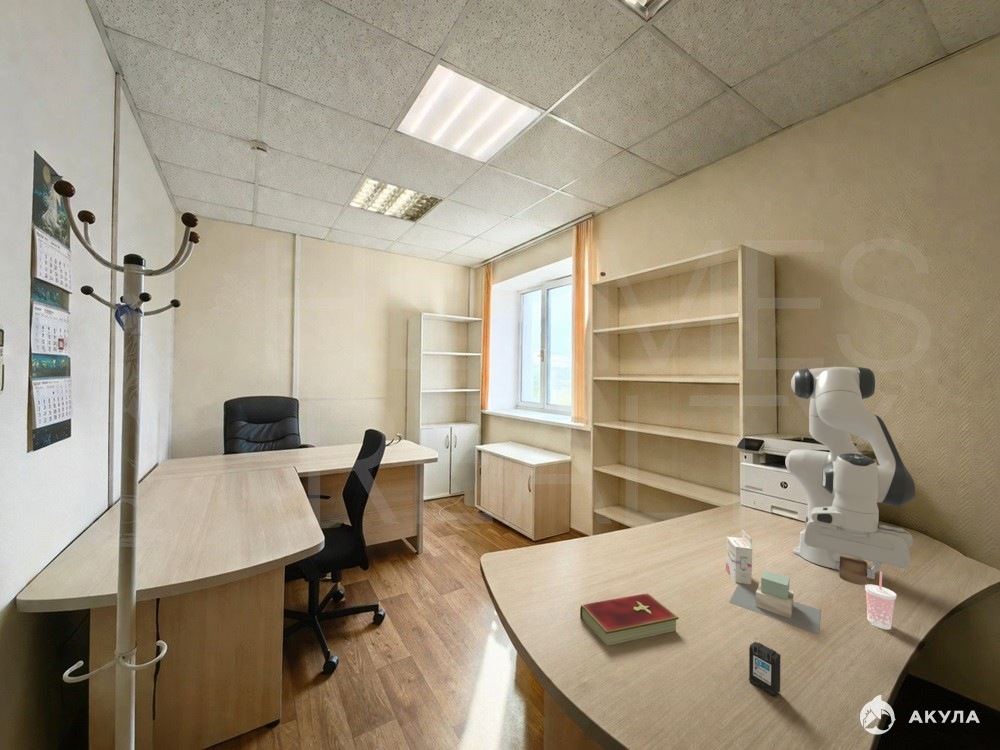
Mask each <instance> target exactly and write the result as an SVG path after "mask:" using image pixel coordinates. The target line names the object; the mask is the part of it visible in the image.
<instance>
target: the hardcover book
mask: <svg viewBox="0 0 1000 750" xmlns="http://www.w3.org/2000/svg"><path fill="white" fill-rule="evenodd" d="M579 609H580V610H579V617H580V619H582V620H583V621H584V622H585V623H586V624H587V626H588V627H590V629H592V631H593V632H594V633H595V634H596V635H597V637H598V638H599V639H600V640H601V641H602V642H603V643H604V644H605V645H606V646H607V647H608V646H611V645H617V644H620V643H621V644H622V643H626V642H630V641H636V640H640V639H643V638H644V639H645V638H648V637H653V636H654V637H655V636H658V635H663V634H667V633H672V632H676V631H677V620H679V617H678V616H677V615H676V614H675V613H673V612H672V611H671V610H670V609H668V608H667V607H666V606H664V605H663V604H662V603H661V602H660V601H658V600H657V599H656V598H654V597H653V596H652V594H649V593H648V592H647V593H641V594H636V595H630V596H624V597H623V596H622V597H618V598H612V599H608V600H607V599H606V600H602V601H601V600H600V601H596V602H590V603H583V604H581V605H580V607H579Z"/></svg>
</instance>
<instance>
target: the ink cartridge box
mask: <svg viewBox="0 0 1000 750" xmlns="http://www.w3.org/2000/svg"><path fill="white" fill-rule="evenodd" d="M741 536H742V537H735V536H726V560H725V570H726V572H727V574H728V575H729V576H730V577H731V579H732V580H733V582H734V583H738V584H746V585H752V571H753V569H752V567H753V542H752V541H753V540H752V538H751V537H750V536H749V535H748V533H746V532H745V530H744V529H741Z"/></svg>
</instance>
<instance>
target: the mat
mask: <svg viewBox="0 0 1000 750" xmlns="http://www.w3.org/2000/svg"><path fill="white" fill-rule="evenodd" d="M756 591H757V589H756V588H753V587H750V586H747V585H743V584H742V583H738V584H737V586H736V588H735V589H734V592H733V593H732V596H731V598H730V599H729V600H728V603H729V604H732V605H735V606H738V607H740V608H744V609H747V610H749V611H752V612H755V613H758V614H762V615H763V616H767V617H769V618H772V619H775V620H777V621H781V622H783V623H786V624H790V625H792V626H795V627H798V628H801V629H803V630H807V631H810V632H812V633H815V634H818V635H819V634H820V628H821V627H820V625H821V614H822V613H821V612H822V609H819V608H816V607H812V606H809V605H806V604H803V603H801V602H797V601H794V602H793V610H792V615H791V618H788V617H785V616H782V615H779V614H776V613H774V612H771V611H768V610H765V609H762V608H759V607H756Z"/></svg>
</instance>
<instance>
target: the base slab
mask: <svg viewBox="0 0 1000 750" xmlns="http://www.w3.org/2000/svg"><path fill="white" fill-rule="evenodd" d="M794 594H795V591H793V590H790V589H789V594H788V598H787V600H784V599H781V598H778V597H775V596H772V595H769V594H765V593H762V592H761V580H760V582H759V583H758V587H757V591H756V607H759V608H762V609H765V610H768V611H771V612H774V613H776V614H779V615H782V616H785V617H788V618H791V615H792V610H793V602H795V601H794V598H795V595H794Z"/></svg>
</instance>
